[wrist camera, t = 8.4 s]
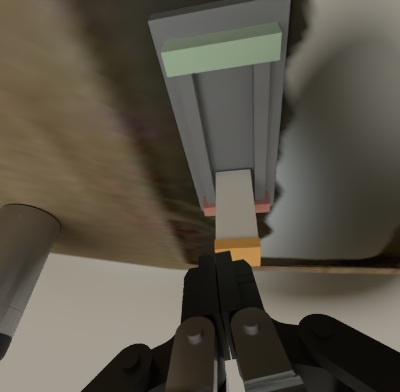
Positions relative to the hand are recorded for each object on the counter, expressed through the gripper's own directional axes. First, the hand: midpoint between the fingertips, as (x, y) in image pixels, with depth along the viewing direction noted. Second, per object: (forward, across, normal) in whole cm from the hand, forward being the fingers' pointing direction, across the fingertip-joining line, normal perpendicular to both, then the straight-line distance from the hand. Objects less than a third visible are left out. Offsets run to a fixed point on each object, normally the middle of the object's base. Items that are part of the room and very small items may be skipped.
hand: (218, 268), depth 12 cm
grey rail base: (+19, +3, +3) cm, 19 cm away
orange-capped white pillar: (+20, +3, -3) cm, 20 cm away
